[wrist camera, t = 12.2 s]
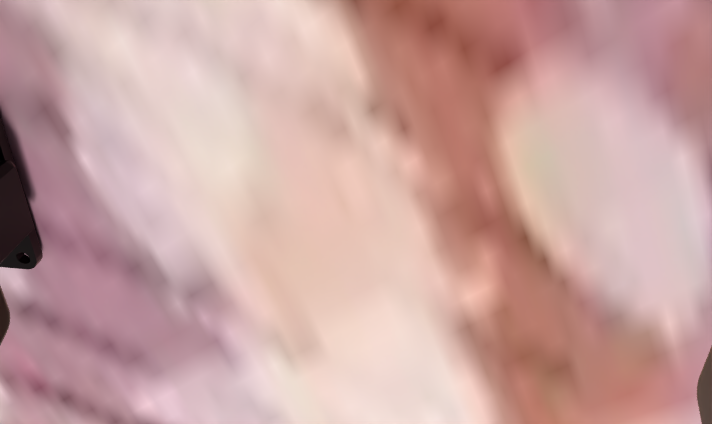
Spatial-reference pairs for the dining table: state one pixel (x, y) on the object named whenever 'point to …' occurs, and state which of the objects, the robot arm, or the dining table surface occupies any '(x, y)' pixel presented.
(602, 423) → the dining table surface
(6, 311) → the robot arm
